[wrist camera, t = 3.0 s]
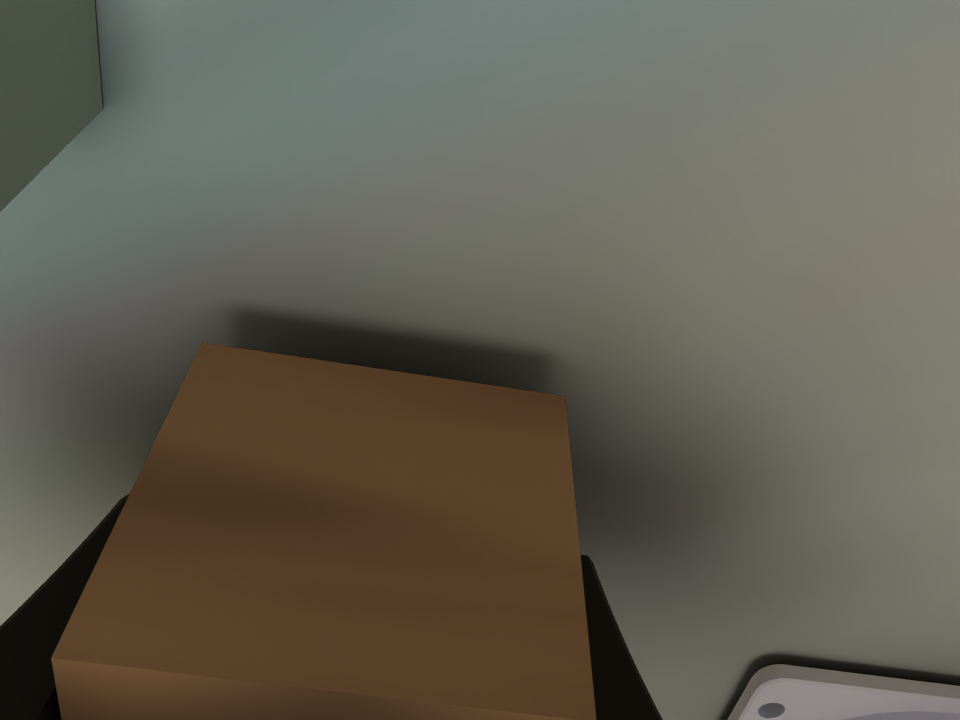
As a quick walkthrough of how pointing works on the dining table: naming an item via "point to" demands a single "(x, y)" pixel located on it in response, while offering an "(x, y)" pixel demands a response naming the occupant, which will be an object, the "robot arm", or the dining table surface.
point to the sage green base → (44, 84)
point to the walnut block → (338, 555)
